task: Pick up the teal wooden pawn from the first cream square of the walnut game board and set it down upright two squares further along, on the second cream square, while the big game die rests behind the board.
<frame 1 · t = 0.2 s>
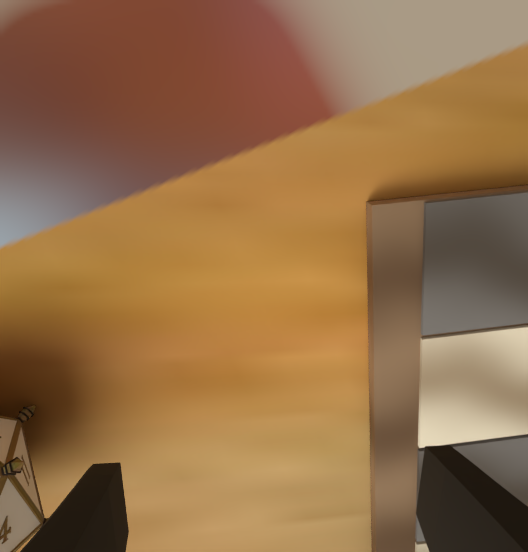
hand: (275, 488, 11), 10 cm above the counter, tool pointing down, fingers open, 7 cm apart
board: (468, 428, 23), on the counter
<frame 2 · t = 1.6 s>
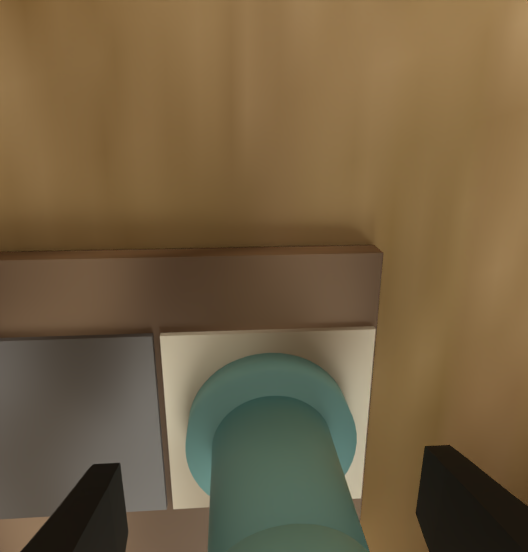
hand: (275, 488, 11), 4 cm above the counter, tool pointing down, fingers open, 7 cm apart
pawn: (268, 424, 13), point 1 cm above the counter, touching board
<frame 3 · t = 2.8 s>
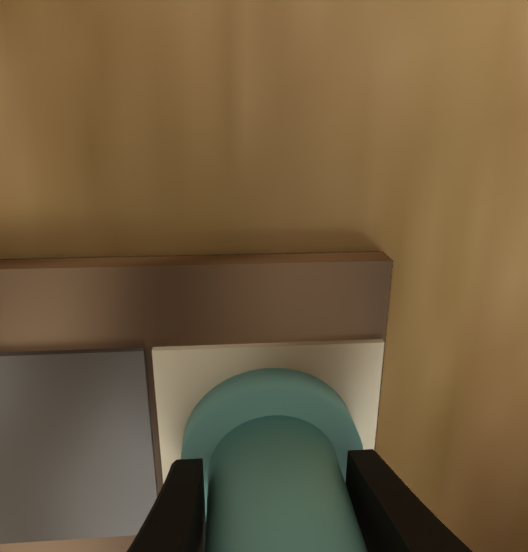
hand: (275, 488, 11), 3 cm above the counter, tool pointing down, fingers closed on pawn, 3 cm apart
pawn: (269, 443, 12), point 1 cm above the counter, touching board, gripper
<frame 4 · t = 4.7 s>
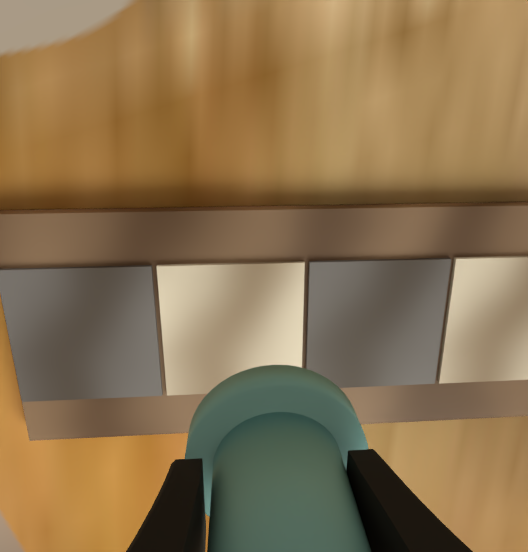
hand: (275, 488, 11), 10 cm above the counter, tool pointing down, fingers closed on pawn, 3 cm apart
pawn: (274, 440, 12), point 8 cm above the counter, touching gripper
board: (301, 319, 20), on the counter
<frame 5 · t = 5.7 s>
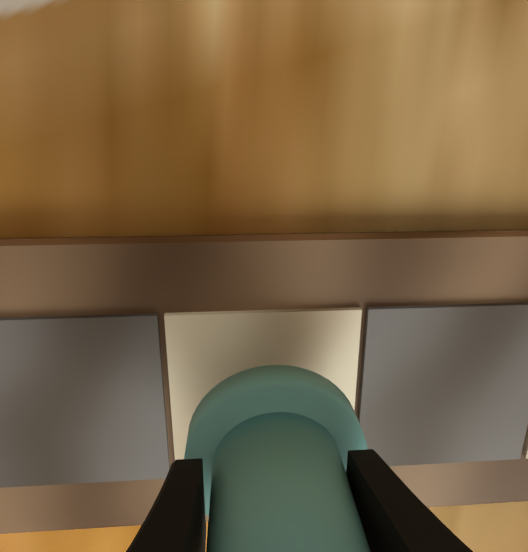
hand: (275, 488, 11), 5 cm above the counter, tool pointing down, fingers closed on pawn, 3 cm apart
pawn: (273, 440, 12), point 3 cm above the counter, touching gripper
board: (350, 377, 16), on the counter
when the fingers open (4 cm above the counter, at t = 6.7 s): pawn drops 1 cm, resting on board.
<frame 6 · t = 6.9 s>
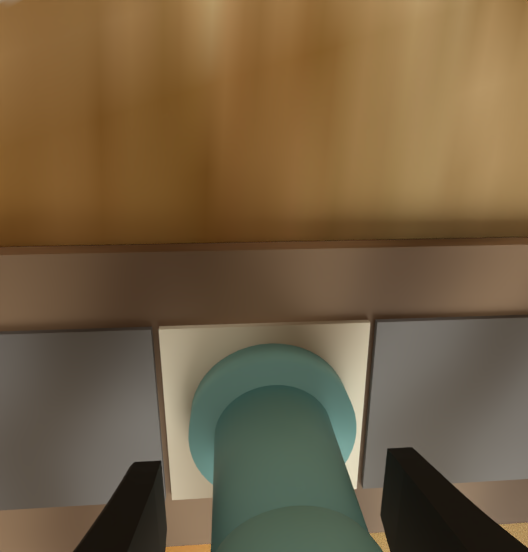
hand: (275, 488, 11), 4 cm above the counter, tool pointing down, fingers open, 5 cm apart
pawn: (270, 413, 14), point 1 cm above the counter, touching board
board: (357, 392, 15), on the counter
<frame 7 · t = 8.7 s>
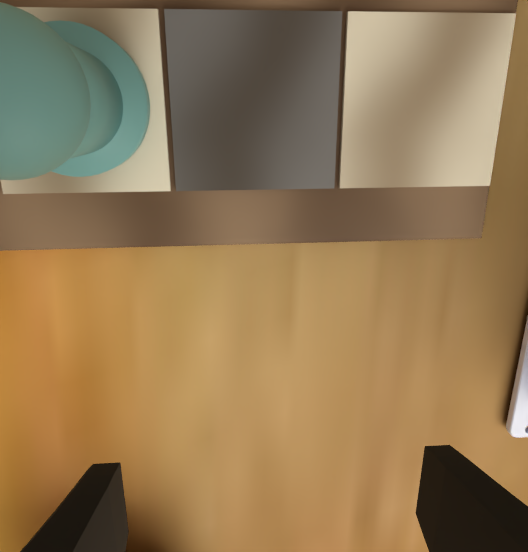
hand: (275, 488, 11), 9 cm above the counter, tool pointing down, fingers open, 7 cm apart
pawn: (80, 103, 16), point 1 cm above the counter, touching board
board: (170, 106, 17), on the counter
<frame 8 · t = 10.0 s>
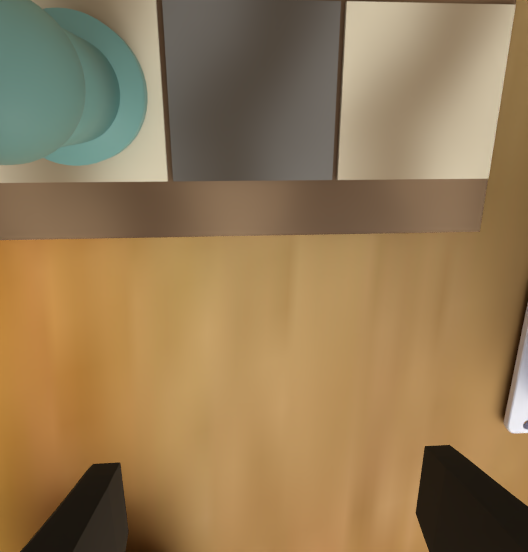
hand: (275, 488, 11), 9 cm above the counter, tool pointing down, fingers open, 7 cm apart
pawn: (77, 92, 15), point 1 cm above the counter, touching board
board: (168, 96, 17), on the counter
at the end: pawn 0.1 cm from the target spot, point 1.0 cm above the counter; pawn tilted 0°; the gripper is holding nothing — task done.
